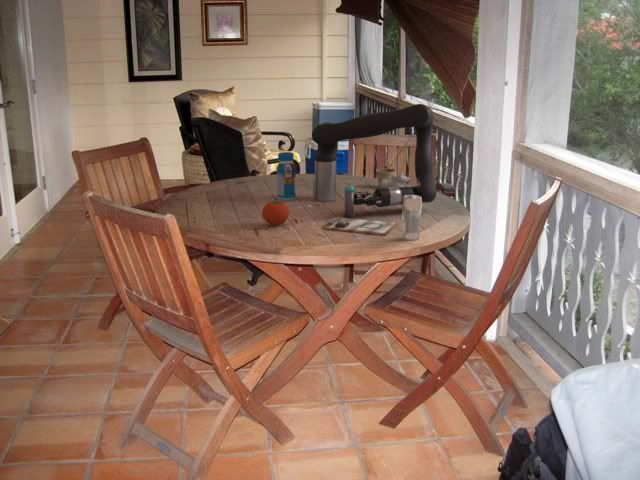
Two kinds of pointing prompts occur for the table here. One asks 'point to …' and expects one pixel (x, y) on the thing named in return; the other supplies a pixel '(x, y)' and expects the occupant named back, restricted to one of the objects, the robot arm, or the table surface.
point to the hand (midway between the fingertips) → (349, 199)
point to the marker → (349, 202)
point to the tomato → (275, 213)
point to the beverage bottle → (286, 176)
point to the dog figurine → (394, 181)
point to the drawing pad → (360, 226)
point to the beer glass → (411, 216)
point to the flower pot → (385, 174)
